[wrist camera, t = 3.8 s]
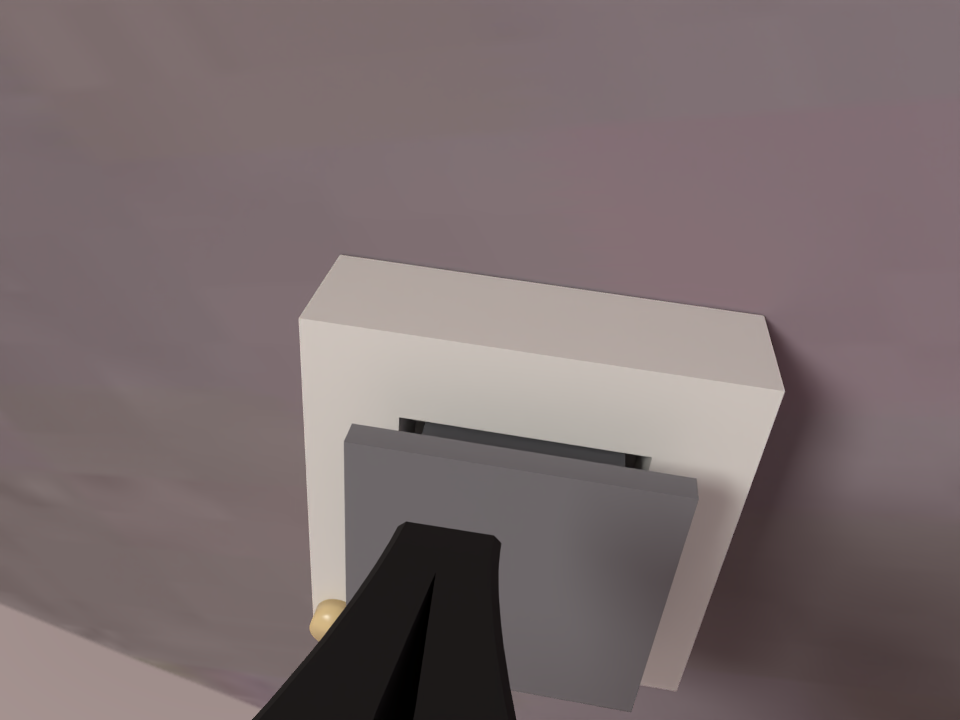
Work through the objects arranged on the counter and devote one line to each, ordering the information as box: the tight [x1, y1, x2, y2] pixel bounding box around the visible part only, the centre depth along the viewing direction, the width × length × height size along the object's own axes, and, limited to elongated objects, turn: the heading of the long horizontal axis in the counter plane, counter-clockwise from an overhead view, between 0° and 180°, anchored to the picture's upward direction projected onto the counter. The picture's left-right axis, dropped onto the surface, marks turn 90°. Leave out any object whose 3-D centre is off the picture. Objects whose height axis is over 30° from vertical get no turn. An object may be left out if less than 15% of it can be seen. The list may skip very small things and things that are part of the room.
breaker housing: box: [299, 255, 785, 691], centre depth 21 cm, size 10×10×4 cm
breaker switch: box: [344, 422, 699, 712], centre depth 19 cm, size 7×7×4 cm
